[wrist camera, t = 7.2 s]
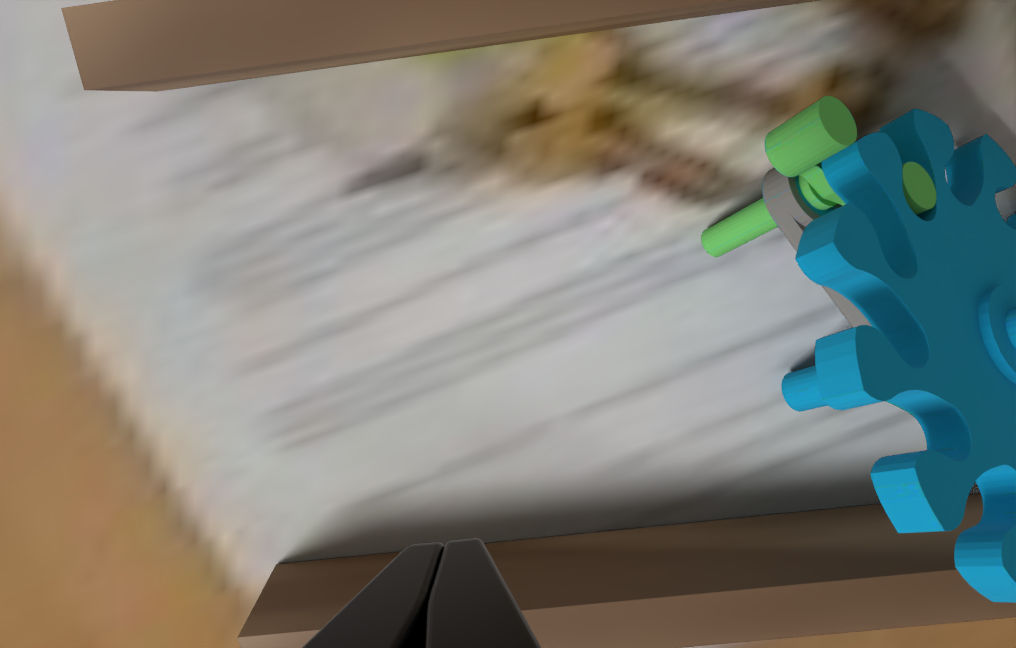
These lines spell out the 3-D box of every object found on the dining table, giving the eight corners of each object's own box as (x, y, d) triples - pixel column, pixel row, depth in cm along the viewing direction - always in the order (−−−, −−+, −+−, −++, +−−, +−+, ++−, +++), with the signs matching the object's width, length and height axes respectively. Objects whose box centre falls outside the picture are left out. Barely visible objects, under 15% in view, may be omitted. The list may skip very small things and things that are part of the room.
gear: (1211, 376, 17) (1146, 747, 12) (961, 421, 22) (832, 697, 17) (943, -13, 16) (737, 192, 11) (744, 124, 21) (532, 312, 16)
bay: (1275, 512, 20) (1402, 582, 17) (287, 608, 22) (251, 686, 19) (1408, -158, 15) (1610, -216, 13) (139, 23, 17) (61, 8, 14)
